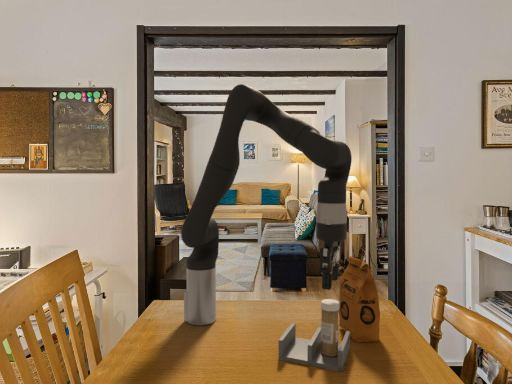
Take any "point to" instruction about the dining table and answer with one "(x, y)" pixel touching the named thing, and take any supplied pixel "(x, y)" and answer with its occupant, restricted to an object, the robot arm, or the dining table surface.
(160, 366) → the dining table surface
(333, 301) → the sprinkles bottle
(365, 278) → the coffee package
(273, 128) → the robot arm
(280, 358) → the bottle rack
